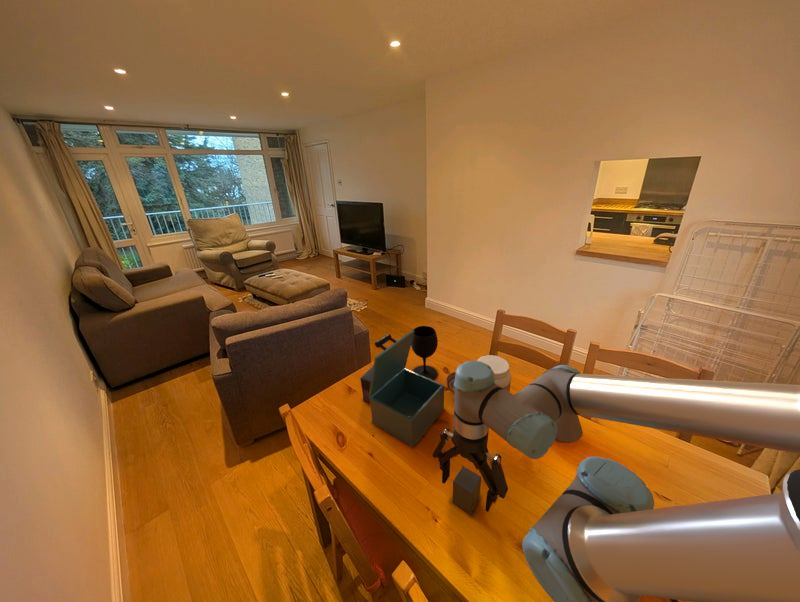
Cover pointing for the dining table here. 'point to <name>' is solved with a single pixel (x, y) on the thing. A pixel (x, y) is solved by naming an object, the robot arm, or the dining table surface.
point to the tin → (451, 381)
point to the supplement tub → (498, 370)
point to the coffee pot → (568, 428)
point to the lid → (389, 360)
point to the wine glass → (425, 349)
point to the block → (466, 489)
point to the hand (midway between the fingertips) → (466, 492)
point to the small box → (366, 384)
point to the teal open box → (407, 405)
